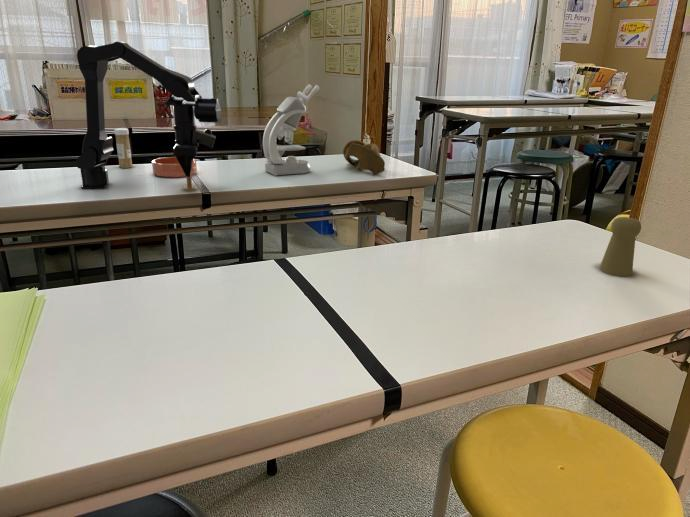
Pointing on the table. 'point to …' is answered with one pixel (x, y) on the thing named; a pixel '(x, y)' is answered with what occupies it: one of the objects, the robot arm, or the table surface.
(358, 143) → the brown looped sculpture
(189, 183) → the wooden post on base
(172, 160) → the bowl
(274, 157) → the microscope
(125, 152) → the sprinkles bottle
